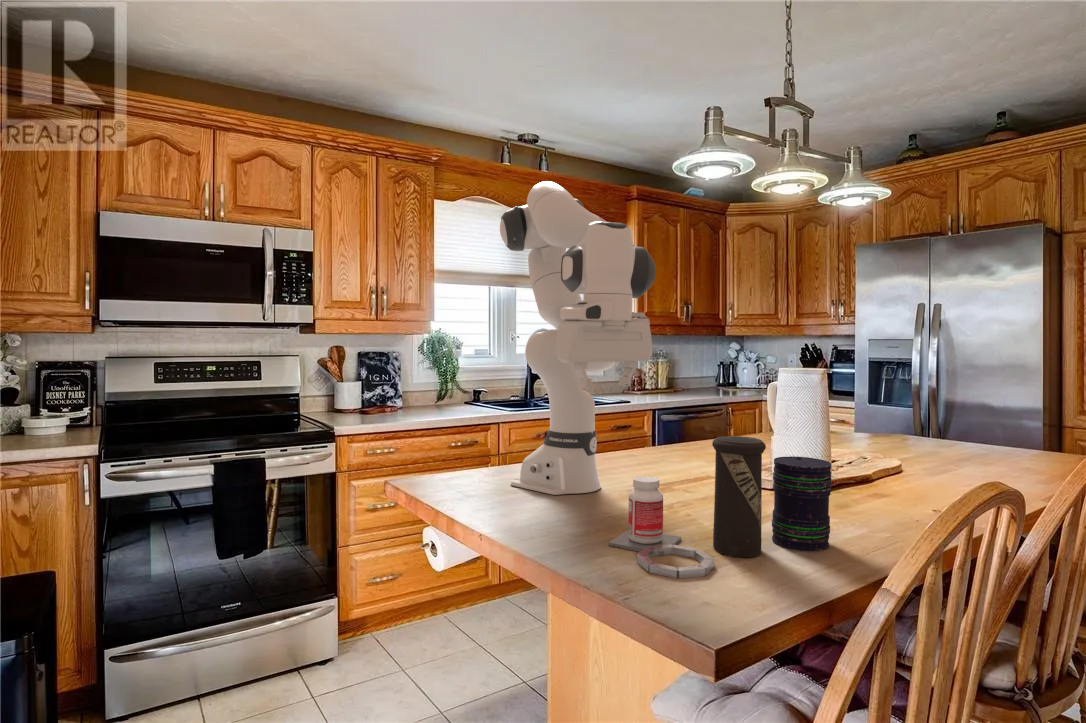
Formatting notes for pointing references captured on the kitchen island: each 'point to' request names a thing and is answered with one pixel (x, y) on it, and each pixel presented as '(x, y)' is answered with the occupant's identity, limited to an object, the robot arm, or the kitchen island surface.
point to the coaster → (627, 543)
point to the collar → (671, 571)
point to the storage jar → (801, 503)
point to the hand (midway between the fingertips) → (605, 387)
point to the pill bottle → (646, 511)
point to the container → (738, 495)
